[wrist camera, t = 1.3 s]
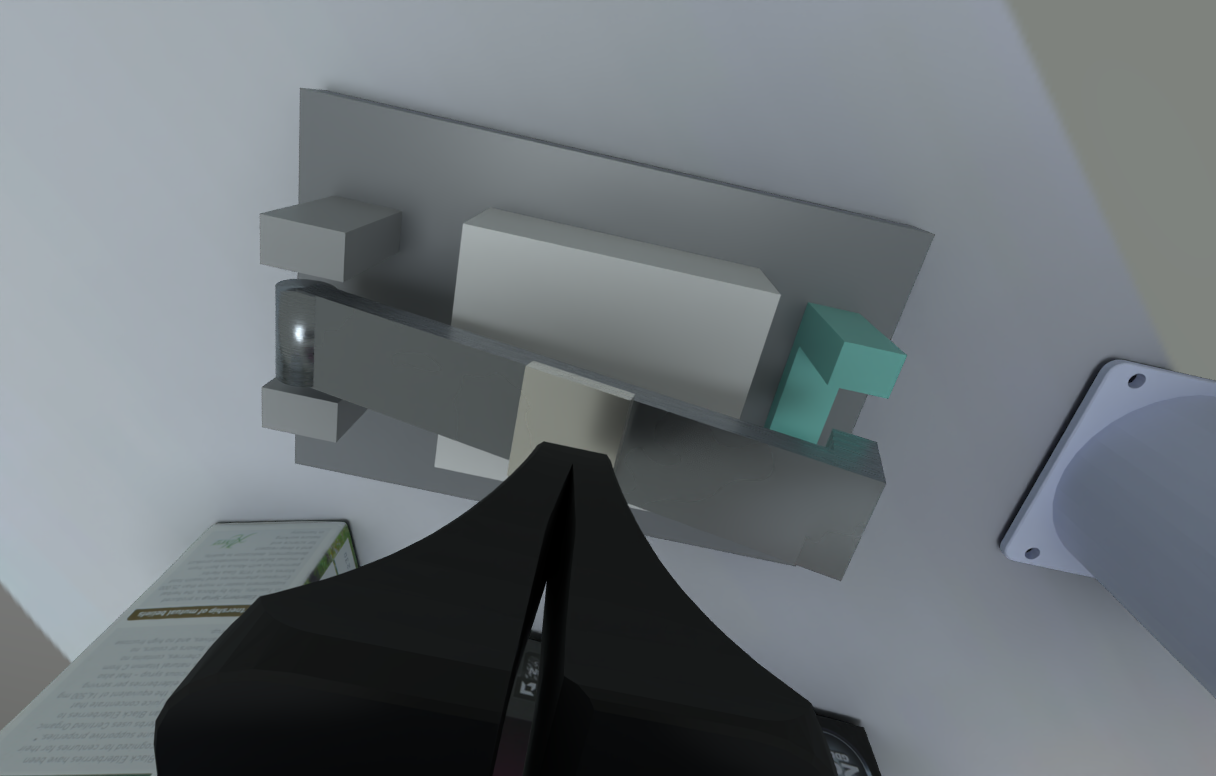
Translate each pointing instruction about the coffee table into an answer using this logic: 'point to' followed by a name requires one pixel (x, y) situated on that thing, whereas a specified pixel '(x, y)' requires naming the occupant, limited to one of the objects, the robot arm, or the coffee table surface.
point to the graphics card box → (842, 738)
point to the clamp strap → (585, 424)
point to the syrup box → (163, 648)
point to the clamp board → (584, 195)
